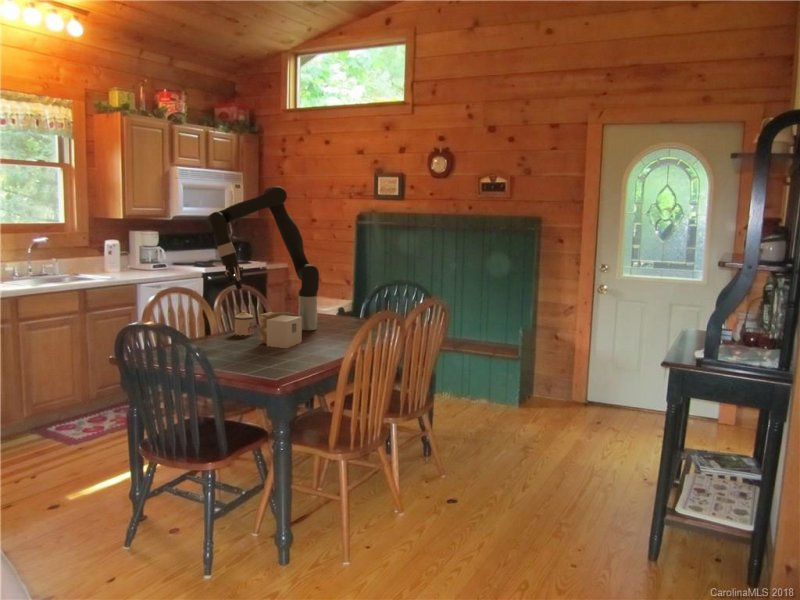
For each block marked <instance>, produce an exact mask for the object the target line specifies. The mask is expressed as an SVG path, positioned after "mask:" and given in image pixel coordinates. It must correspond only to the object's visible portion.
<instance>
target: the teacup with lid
mask: <svg viewBox="0 0 800 600" xmlns="http://www.w3.org/2000/svg"><path fill="white" fill-rule="evenodd" d="M233 317H234V335H235V334H237V335H250V336H252V335H251V334H253V335H254V315H252V314H250V313H247V311H246V310H242V311H241V312H239V314H237V315H235V316H233ZM237 335H236V336H237Z"/></svg>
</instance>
